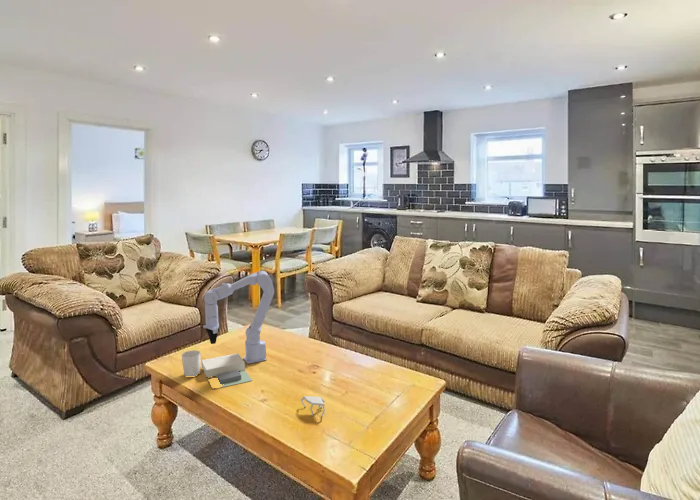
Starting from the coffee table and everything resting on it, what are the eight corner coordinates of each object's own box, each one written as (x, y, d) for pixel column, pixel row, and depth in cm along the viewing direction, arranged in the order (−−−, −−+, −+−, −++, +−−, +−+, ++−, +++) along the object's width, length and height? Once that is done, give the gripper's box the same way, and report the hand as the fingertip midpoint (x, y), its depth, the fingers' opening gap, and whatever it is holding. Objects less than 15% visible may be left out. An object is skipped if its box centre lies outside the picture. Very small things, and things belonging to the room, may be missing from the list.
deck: (238, 360, 204) (237, 353, 203) (244, 370, 193) (244, 362, 193) (201, 368, 196) (201, 360, 195) (206, 378, 185) (206, 369, 185)
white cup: (179, 376, 187) (177, 355, 186) (193, 369, 194) (191, 349, 193) (191, 380, 184) (190, 358, 182) (205, 373, 191) (204, 352, 189)
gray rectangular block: (241, 375, 183) (241, 379, 184) (237, 370, 189) (237, 374, 189) (220, 379, 179) (220, 384, 179) (217, 374, 184) (217, 378, 184)
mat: (245, 371, 193) (245, 370, 193) (252, 380, 183) (252, 380, 183) (207, 379, 184) (207, 378, 184) (212, 389, 175) (212, 389, 175)
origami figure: (332, 408, 161) (332, 396, 160) (323, 419, 153) (323, 406, 153) (304, 402, 165) (304, 390, 165) (294, 413, 158) (294, 400, 157)
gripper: (200, 313, 201) (201, 339, 203) (205, 321, 188) (207, 350, 190) (215, 310, 204) (216, 337, 206) (221, 319, 192) (223, 347, 194)
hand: (213, 343), depth 199 cm, fingers closed
